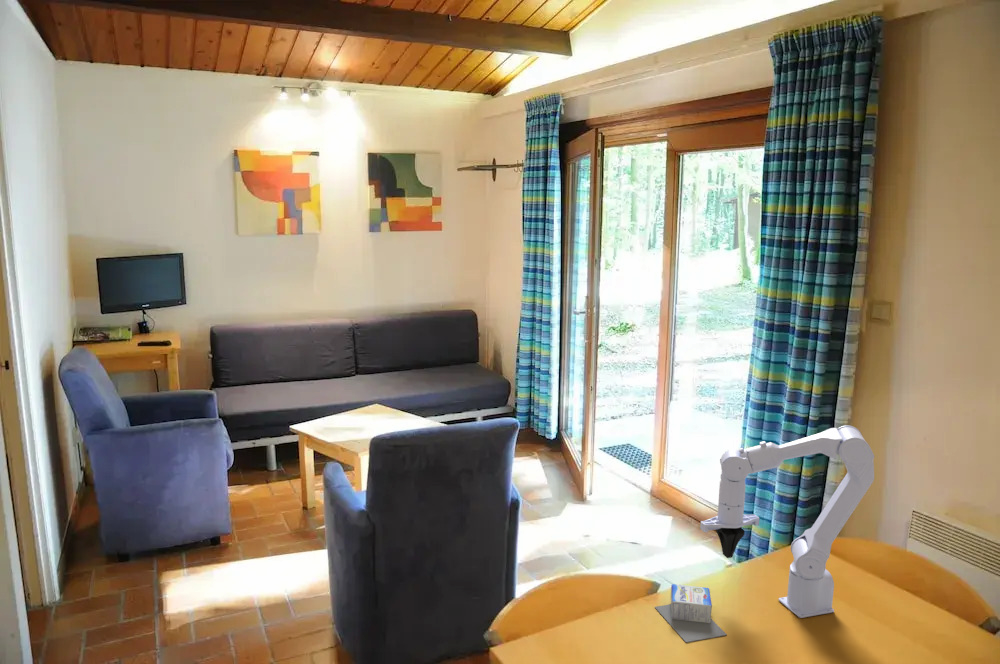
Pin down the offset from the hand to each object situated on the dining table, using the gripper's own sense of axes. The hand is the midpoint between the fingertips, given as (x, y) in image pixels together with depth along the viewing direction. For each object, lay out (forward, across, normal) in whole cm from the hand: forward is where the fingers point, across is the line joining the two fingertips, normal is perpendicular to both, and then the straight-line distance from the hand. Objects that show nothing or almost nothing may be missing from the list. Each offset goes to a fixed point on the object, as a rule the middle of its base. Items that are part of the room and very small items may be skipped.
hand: (727, 555), depth 173 cm
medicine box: (+8, +8, +6) cm, 13 cm away
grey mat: (+10, +14, +7) cm, 18 cm away
